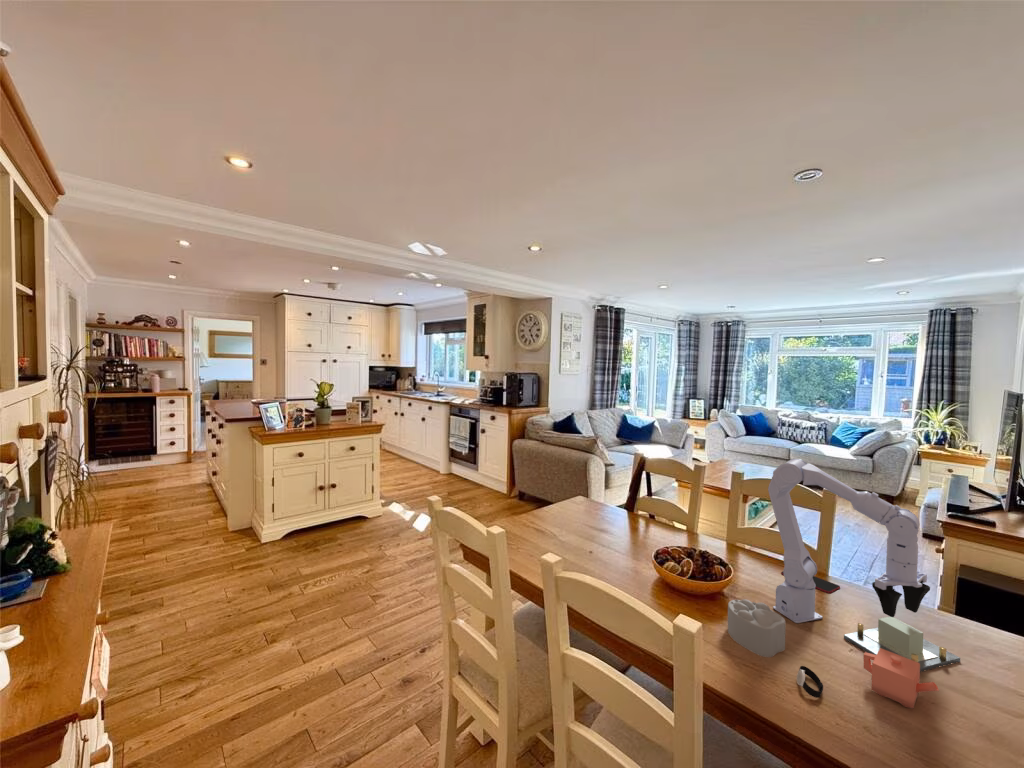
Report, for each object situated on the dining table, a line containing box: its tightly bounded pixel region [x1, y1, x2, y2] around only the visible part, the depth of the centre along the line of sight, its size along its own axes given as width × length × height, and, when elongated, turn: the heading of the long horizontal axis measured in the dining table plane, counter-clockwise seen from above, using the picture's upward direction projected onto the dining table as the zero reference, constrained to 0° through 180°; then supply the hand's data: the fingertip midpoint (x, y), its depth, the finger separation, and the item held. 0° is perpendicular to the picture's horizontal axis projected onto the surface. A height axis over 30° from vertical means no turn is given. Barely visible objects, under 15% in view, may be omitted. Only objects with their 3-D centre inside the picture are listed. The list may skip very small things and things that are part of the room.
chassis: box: [843, 622, 961, 673], centre depth 107 cm, size 18×14×4 cm
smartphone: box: [780, 571, 841, 594], centre depth 141 cm, size 7×1×15 cm
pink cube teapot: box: [863, 648, 940, 710], centre depth 92 cm, size 8×12×8 cm, turn 40°
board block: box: [877, 616, 924, 655], centre depth 107 cm, size 4×7×5 cm, turn 14°
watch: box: [796, 665, 824, 698], centre depth 95 cm, size 8×5×4 cm, turn 158°
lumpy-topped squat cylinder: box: [727, 598, 786, 658], centre depth 111 cm, size 10×13×9 cm
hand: (899, 612), depth 107 cm, fingers open, 7 cm apart
